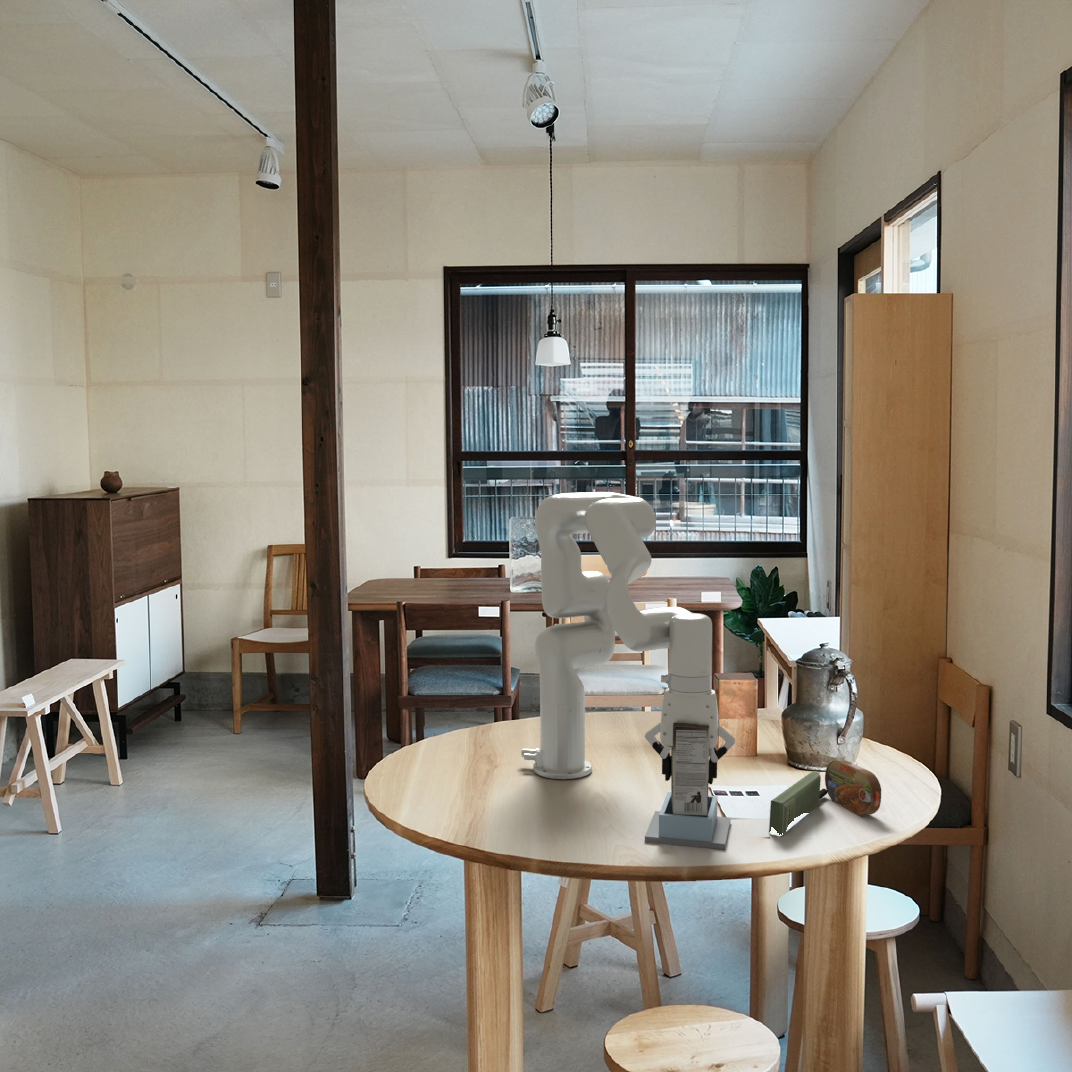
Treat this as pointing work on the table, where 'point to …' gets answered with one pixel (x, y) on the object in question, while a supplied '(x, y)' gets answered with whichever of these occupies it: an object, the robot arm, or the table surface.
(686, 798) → the coffee box
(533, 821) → the table surface
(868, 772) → the tin
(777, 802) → the handheld radio
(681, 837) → the light blue open box
